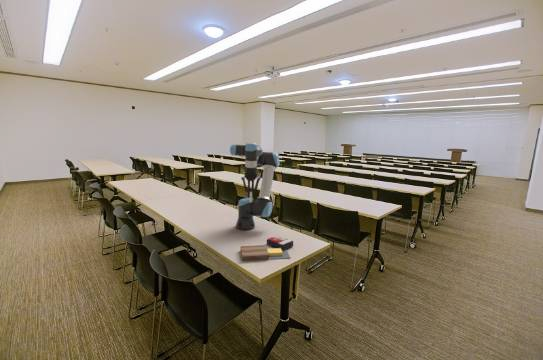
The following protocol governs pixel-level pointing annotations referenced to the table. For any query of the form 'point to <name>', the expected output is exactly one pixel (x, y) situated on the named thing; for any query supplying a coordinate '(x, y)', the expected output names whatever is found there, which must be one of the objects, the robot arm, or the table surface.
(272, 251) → the butter yellow block
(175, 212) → the table surface
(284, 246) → the calculator
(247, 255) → the brown wooden slab
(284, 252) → the mat
